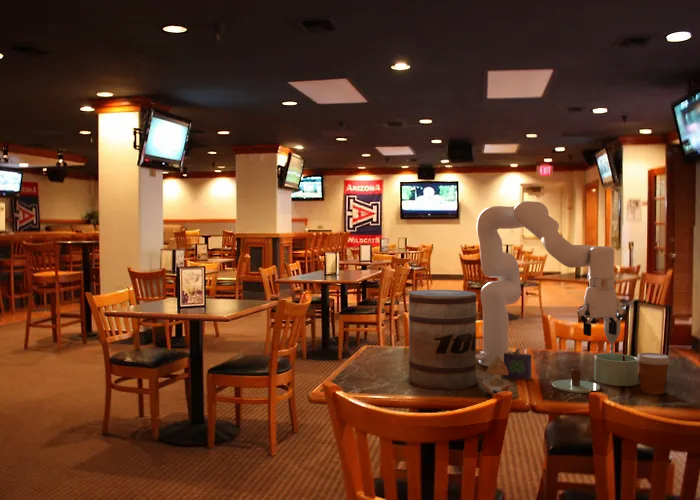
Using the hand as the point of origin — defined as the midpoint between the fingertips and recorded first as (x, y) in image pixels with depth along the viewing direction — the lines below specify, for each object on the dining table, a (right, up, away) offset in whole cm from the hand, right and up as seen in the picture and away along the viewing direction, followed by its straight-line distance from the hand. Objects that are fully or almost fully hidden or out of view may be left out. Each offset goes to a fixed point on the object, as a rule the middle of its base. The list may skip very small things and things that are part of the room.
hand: (599, 334), depth 212 cm
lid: (-10, -16, -6) cm, 20 cm away
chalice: (+16, -16, +29) cm, 37 cm away
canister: (+6, -16, +2) cm, 18 cm away
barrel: (-52, -16, +4) cm, 55 cm away
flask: (-26, -16, +6) cm, 31 cm away
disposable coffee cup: (+12, -17, -12) cm, 24 cm away
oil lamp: (-37, -17, -13) cm, 43 cm away
